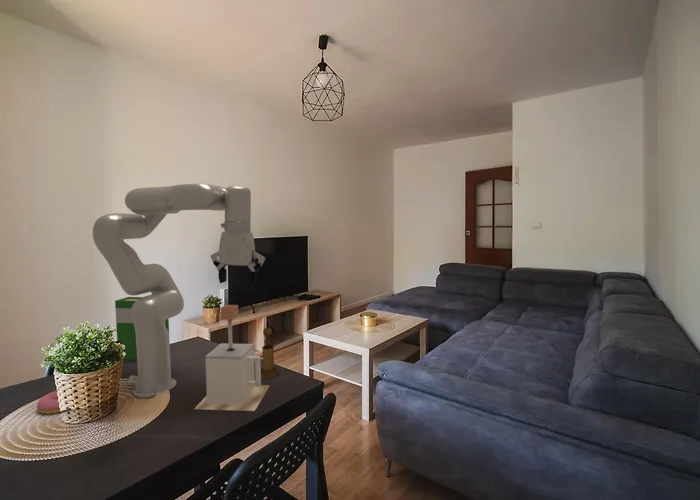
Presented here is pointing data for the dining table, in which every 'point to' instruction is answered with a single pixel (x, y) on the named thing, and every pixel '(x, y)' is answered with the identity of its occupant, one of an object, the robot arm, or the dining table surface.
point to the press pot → (231, 374)
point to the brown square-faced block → (229, 320)
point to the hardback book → (128, 325)
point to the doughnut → (49, 403)
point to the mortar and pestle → (268, 356)
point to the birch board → (247, 406)
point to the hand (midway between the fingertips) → (237, 283)
